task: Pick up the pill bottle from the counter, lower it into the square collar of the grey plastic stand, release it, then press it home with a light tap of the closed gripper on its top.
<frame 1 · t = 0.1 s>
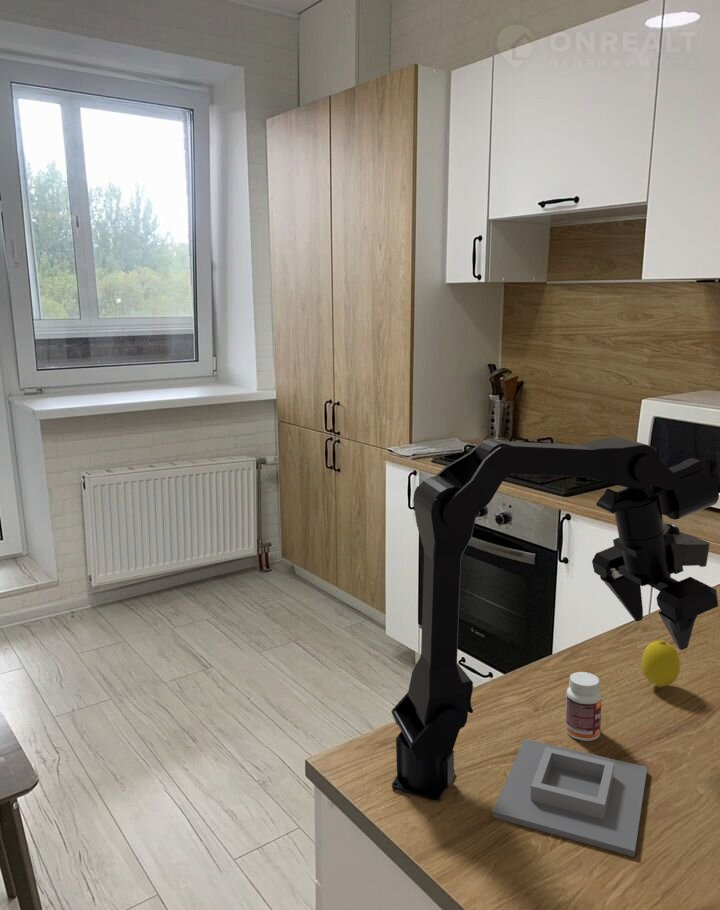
hand: (660, 633, 98), 15 cm above the counter, tool pointing down, fingers open, 9 cm apart
lemon: (659, 688, 114), on the counter
pill bottle: (582, 733, 103), on the counter
bottle stand: (572, 793, 90), on the counter
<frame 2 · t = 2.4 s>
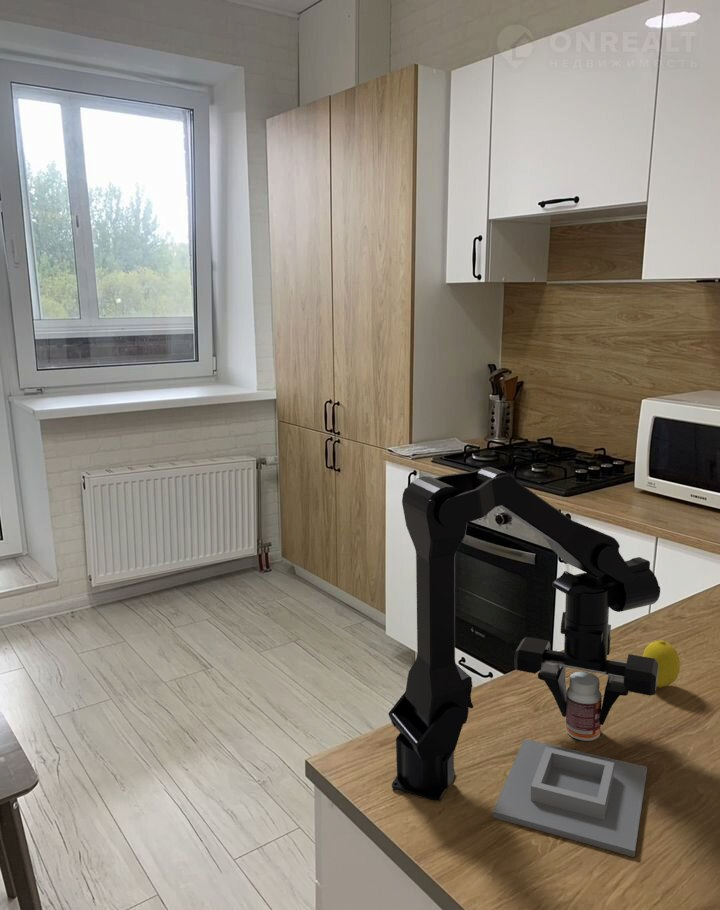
hand: (583, 719, 102), 2 cm above the counter, tool pointing down, fingers closed on pill bottle, 5 cm apart
pill bottle: (582, 733, 103), on the counter, touching gripper
everything else where it was.
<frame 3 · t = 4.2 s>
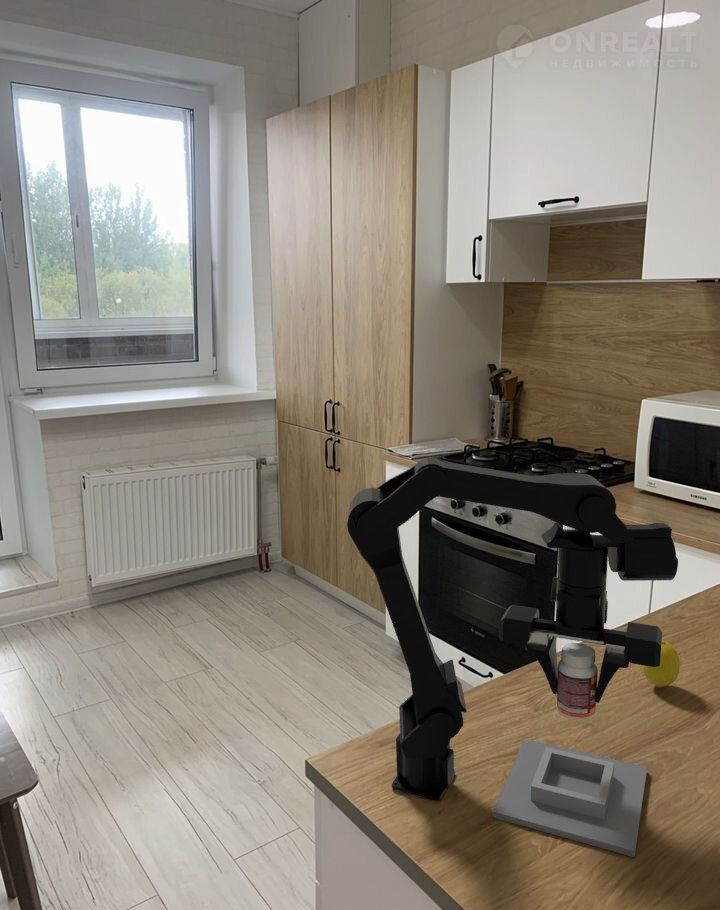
hand: (576, 696, 90), 12 cm above the counter, tool pointing down, fingers closed on pill bottle, 5 cm apart
pill bottle: (575, 712, 91), point 10 cm above the counter, touching gripper
everything else where it was.
when the fingers open (4 cm above the counter, at t = 6.3 s): pill bottle drops 1 cm, resting on bottle stand.
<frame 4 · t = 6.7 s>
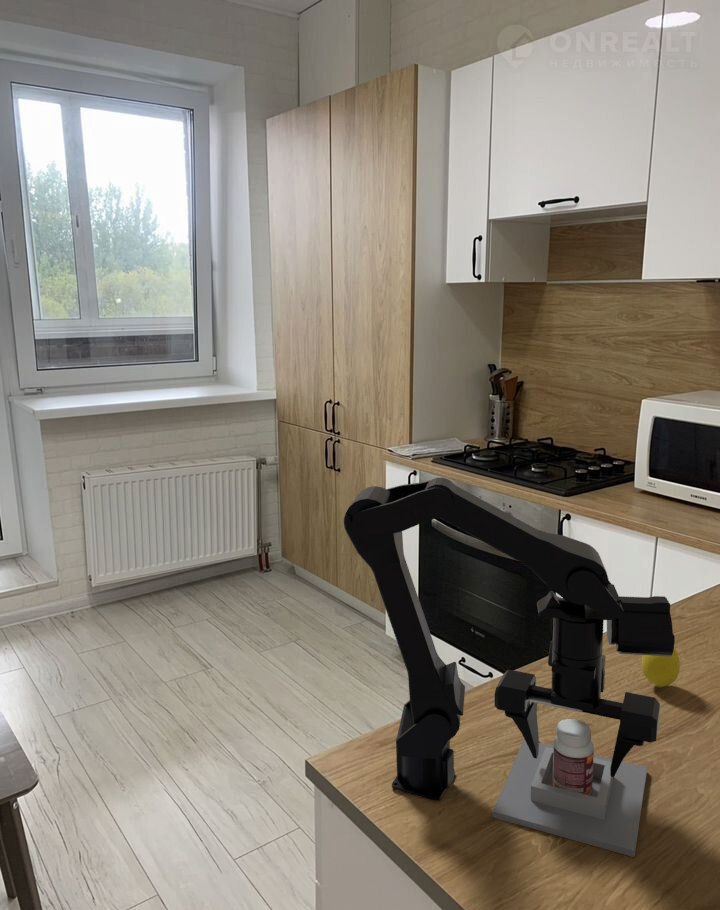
hand: (573, 765, 89), 4 cm above the counter, tool pointing down, fingers open, 9 cm apart
pill bottle: (572, 789, 90), point 1 cm above the counter, touching bottle stand
everything else where it was.
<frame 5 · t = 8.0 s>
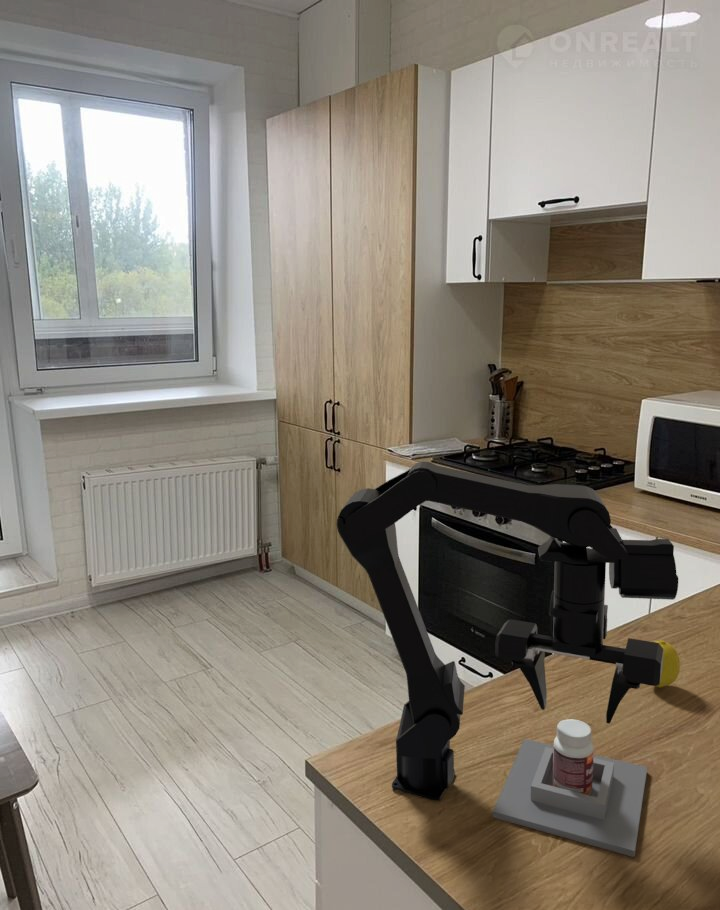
hand: (575, 714, 88), 11 cm above the counter, tool pointing down, fingers open, 7 cm apart
nothing on the counter moved.
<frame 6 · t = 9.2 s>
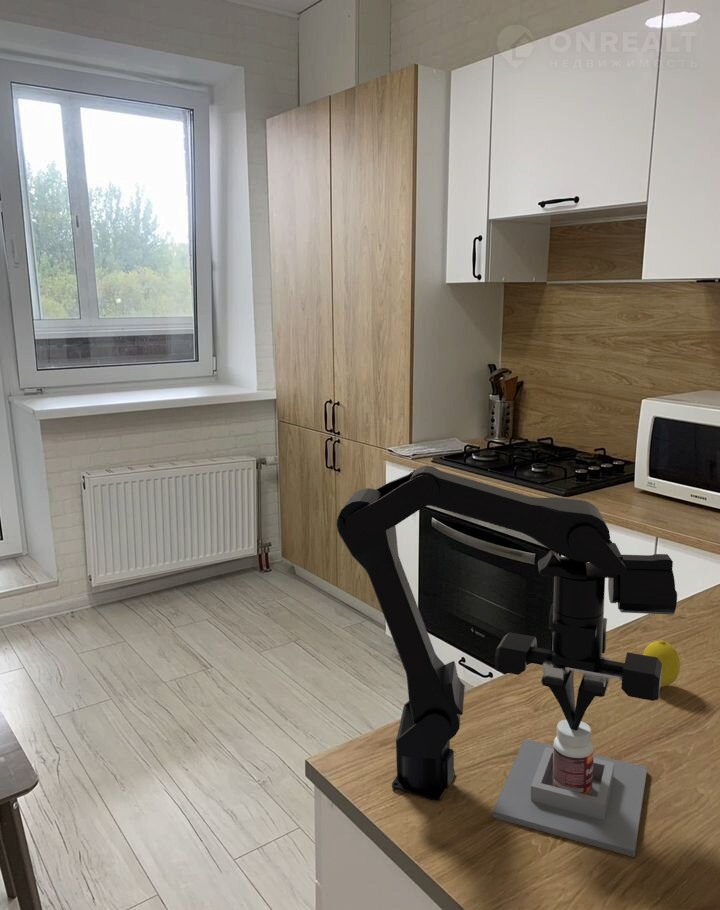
hand: (574, 728, 88), 9 cm above the counter, tool pointing down, fingers closed, pressing on pill bottle
pill bottle: (572, 789, 90), point 1 cm above the counter, touching bottle stand, gripper
everything else where it was.
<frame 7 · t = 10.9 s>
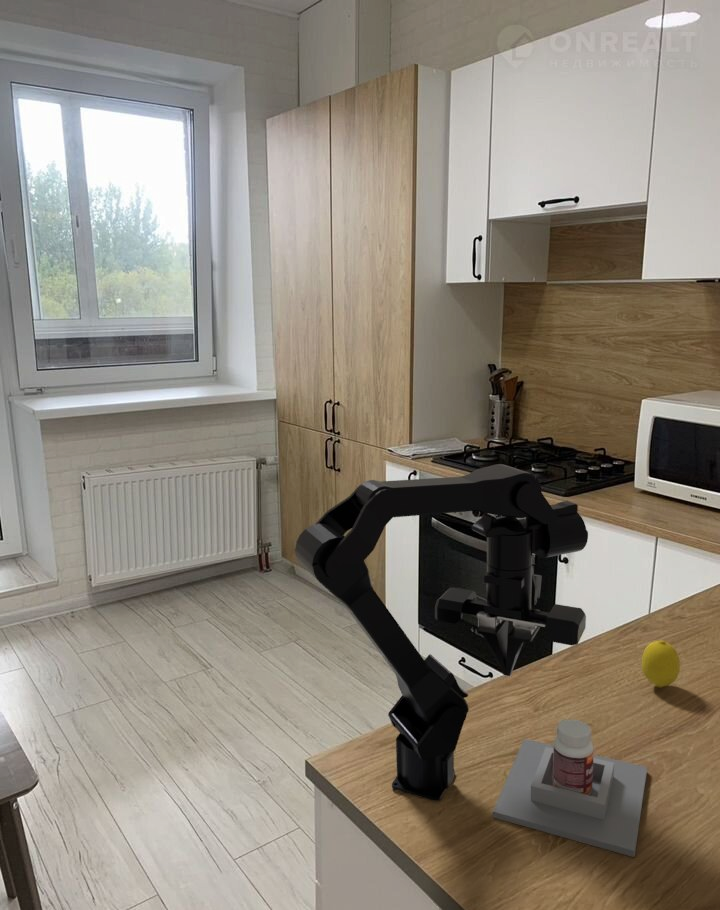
hand: (507, 674, 96), 12 cm above the counter, tool pointing down, fingers closed
pill bottle: (572, 789, 90), point 1 cm above the counter, touching bottle stand
everything else where it was.
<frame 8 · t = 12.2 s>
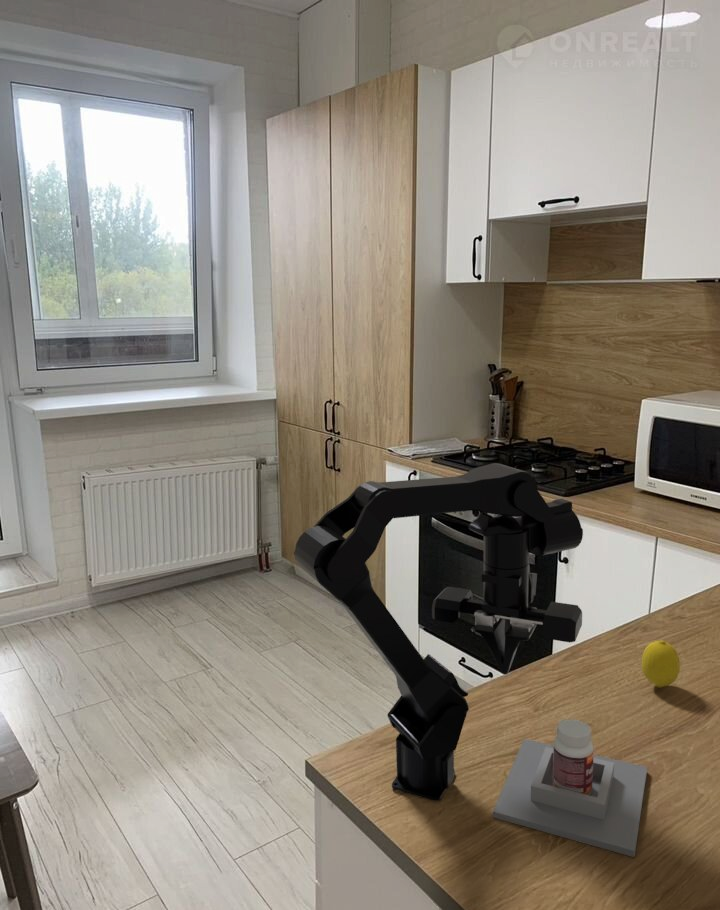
hand: (505, 672, 96), 12 cm above the counter, tool pointing down, fingers closed
nothing on the counter moved.
at the end: pill bottle 0.1 cm from the bottle stand (horizontally); pill bottle point 0.6 cm above the counter; pill bottle tilted 0° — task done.
